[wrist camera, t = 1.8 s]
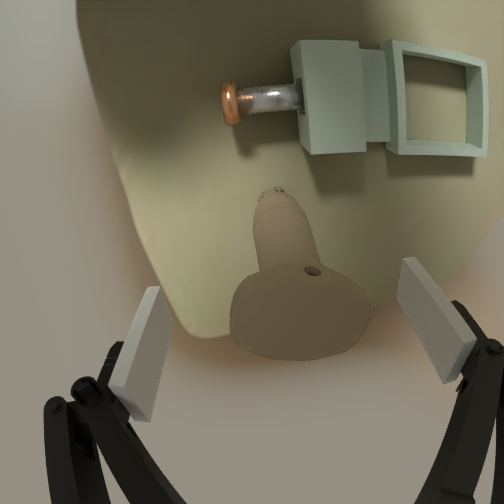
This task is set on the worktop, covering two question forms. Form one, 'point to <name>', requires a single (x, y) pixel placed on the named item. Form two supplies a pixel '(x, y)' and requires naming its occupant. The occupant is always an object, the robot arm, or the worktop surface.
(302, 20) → the worktop surface
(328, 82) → the dock
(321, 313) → the handle
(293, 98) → the lock pin
